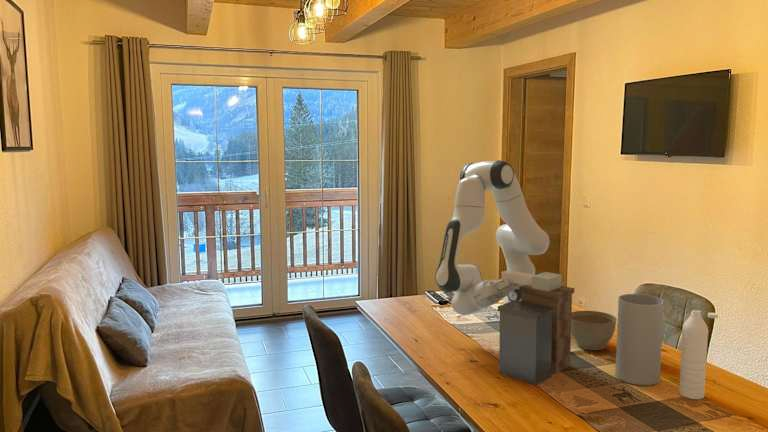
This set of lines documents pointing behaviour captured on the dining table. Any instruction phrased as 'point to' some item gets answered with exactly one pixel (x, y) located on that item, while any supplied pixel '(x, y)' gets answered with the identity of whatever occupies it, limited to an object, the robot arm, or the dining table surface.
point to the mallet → (534, 279)
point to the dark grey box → (525, 341)
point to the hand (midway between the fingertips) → (517, 279)
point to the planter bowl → (592, 329)
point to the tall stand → (555, 320)
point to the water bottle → (694, 356)
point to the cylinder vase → (639, 339)
